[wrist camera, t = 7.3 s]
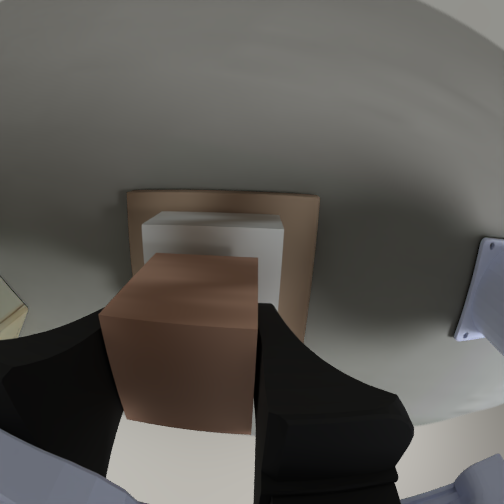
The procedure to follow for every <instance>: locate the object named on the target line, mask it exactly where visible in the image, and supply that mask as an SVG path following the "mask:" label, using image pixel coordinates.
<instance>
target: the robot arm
mask: <svg viewBox="0 0 504 504" xmlns="http://www.w3.org/2000/svg"><path fill="white" fill-rule="evenodd" d="M490 244H491V247H490ZM104 308H105V307H104ZM104 308H102V309H100V310H98V311H96V312H94V313H92V314H90V315H88V316H85V317H83V318H81V319H79V320H76V321H74V322H72V323H69V324H67V325H64V326H61V327H58V328H55V329H52V330H49V331H46V332H42V333H38V334H34V335H29V336H25V337H19V338H13V339H5V340H0V504H147V503H143V502H139V501H137V500H136V499H134V498H133V497H132V496H131V495H130V494H129V493H128V492H127V491H126V490H125V489H123V488H121V487H120V486H118V485H116V484H114V483H112V482H111V481H109V480H108V479H106V474H107V468H108V464H109V459H110V455H111V451H112V447H113V443H114V439H115V436H116V432H117V429H118V426H119V422H120V419H121V416H122V413H123V411H124V409H123V406H122V403H121V400H120V397H119V394H118V390H117V387H116V384H115V380H114V377H113V373H112V370H111V366H110V362H109V359H108V355H107V351H106V347H105V343H104V338H103V334H102V329H101V325H100V320H99V313H100V312H101V311H102V310H103V309H104ZM485 337H486V338H487V339H488V340H489V341H490V343H491V344H492V345H493V346H494V347H495V348H496V349H497V350H498V351H499V352H500V353H501V354H502V355H503V356H504V239H496V238H487V237H486V238H483V239H482V241H481V243H480V247H479V252H478V256H477V261H476V265H475V269H474V273H473V277H472V281H471V284H470V288H469V291H468V295H467V298H466V301H465V305H464V308H463V311H462V314H461V317H460V320H459V323H458V326H457V329H456V331H455V334H454V338H455V339H456V340H457V341H465V340H472V339H479V338H485ZM254 408H255V419H256V447H255V479H254V504H504V460H503V459H502V457H501V455H500V454H495V455H493V456H491V457H489V458H487V459H484V460H482V461H480V462H477V463H475V464H473V465H471V466H470V467H468V468H467V469H466V470H464V471H463V472H462V473H461V474H460V475H459V476H458V477H457V479H456V480H455V482H454V483H452V484H449V485H446V486H443V487H440V488H438V489H435V490H432V491H429V492H426V493H423V494H419V495H416V496H412V497H409V498H405V499H401V500H400V499H399V496H398V493H397V489H396V486H395V483H394V482H396V481H397V480H398V474H397V471H396V468H395V466H396V464H397V463H398V461H399V460H400V458H401V457H402V455H403V454H404V452H405V451H406V449H407V448H408V446H409V444H410V442H411V440H412V438H413V436H414V427H413V424H412V422H411V420H410V418H409V416H408V413H407V411H406V409H405V407H404V406H403V404H402V402H401V401H400V399H399V397H398V396H397V395H396V394H393V393H390V392H387V391H384V390H381V389H378V388H375V387H373V386H370V385H367V384H365V383H363V382H361V381H359V380H356V379H354V378H352V377H350V376H348V375H346V374H345V373H343V372H341V371H339V370H338V369H336V368H335V367H333V366H331V365H330V364H328V363H327V362H325V361H324V360H322V359H321V358H320V357H319V356H317V355H316V354H315V353H314V352H312V351H311V350H310V349H309V348H308V347H306V346H305V345H304V344H303V343H302V342H301V341H300V340H299V339H298V337H297V336H296V335H295V334H294V333H293V332H292V330H291V329H290V328H289V327H288V326H287V324H286V323H285V322H284V320H283V319H282V317H281V316H280V315H279V313H278V311H277V310H276V308H275V306H274V305H273V304H272V303H258V334H257V350H256V366H255V382H254Z"/></svg>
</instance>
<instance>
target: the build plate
mask: <svg viewBox="0 0 504 504" xmlns="http://www.w3.org/2000/svg"><path fill="white" fill-rule="evenodd" d="M319 204H320V197H318V196H317V195H309V194H293V193H275V192H253V191H222V190H133V191H130V192H127V211H128V229H129V243H130V255H131V266H132V276H134V275H135V274H136V273H137V272H138V271H139V270H140V269H141V268H142V267H143V266H144V265H145V264H146V263H147V262H148V261H149V259H150V258H151V257H152V256H153V255H154V254H155V253H172V254H192V255H214V256H235V257H257V258H258V303H272V304H273V305H274V306H275V308H276V310H277V311H278V313H279V315H280V316H281V317H282V319H283V320H284V322H285V323H286V324H287V326H288V327H289V328H290V329H291V330H292V332H293V333H294V334H295V335H296V336H297V337H298V339H299V340H300V341H301V342H302V343H303V342H304V336H305V329H306V322H307V315H308V307H309V300H310V292H311V284H312V275H313V266H314V257H315V248H316V238H317V227H318V216H319Z"/></svg>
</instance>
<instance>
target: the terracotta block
mask: <svg viewBox="0 0 504 504" xmlns="http://www.w3.org/2000/svg"><path fill="white" fill-rule="evenodd" d="M99 320H100V325H101V329H102V334H103V338H104V343H105V347H106V351H107V355H108V359H109V362H110V366H111V370H112V373H113V377H114V380H115V384H116V387H117V390H118V394H119V397H120V400H121V403H122V406H123V409H124V412H125V415H126V418H127V419H129V420H134V421H139V422H145V423H149V424H155V425H161V426H168V427H174V428H181V429H189V430H197V431H206V432H217V433H230V434H249V435H251V427H252V412H253V397H254V382H255V366H256V350H257V334H258V258H257V257H235V256H214V255H192V254H172V253H155V254H154V255H153V256H152V257H151V258H150V259H149V261H148V262H147V263H146V264H145V265H144V266H143V267H142V268H141V269H140V270H139V271H138V272H137V273H136V274H135V275H134V276H133V277H132V278H131V279H130V281H129V282H128V283H127V284H126V285H125V286H124V287H123V288H122V289H121V290H120V291H119V292H118V293H117V295H116V296H115V297H114V298H113V299H112V300H111V301H110V302H109V303H108V304H107V306H106V307H105V308H104V309H103V310H102V311H101V312H100V313H99Z"/></svg>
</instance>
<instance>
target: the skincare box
mask: <svg viewBox="0 0 504 504" xmlns="http://www.w3.org/2000/svg"><path fill="white" fill-rule="evenodd" d="M27 312H28V308H27V307H26V306H25V305H24V303H23V302H22V301H21V300H20V299H19V298H18V297H17V296H16V294H15V293H14V292H13V291H12V290H11V289H10V288H9V286H8V285H7V284H6V283H5V282H4V281H3V279H2V278H1V277H0V340H5V339H13V338H18V336H19V333H20V330H21V328H22V325H23V323H24V320H25V317H26V315H27Z"/></svg>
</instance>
